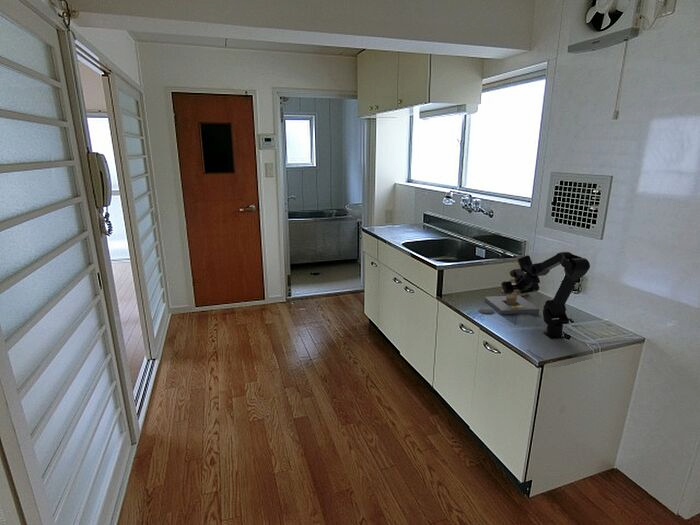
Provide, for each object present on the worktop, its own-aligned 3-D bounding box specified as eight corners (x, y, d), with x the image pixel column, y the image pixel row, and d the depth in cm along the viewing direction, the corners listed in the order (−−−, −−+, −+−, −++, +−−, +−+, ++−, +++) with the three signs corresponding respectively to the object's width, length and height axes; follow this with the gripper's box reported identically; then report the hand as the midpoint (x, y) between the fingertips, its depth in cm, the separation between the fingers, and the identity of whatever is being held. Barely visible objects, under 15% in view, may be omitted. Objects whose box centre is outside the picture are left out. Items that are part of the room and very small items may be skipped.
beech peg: (515, 310, 207) (518, 286, 204) (505, 308, 209) (507, 285, 205) (515, 306, 211) (518, 283, 208) (505, 305, 213) (508, 282, 210)
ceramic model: (504, 296, 228) (506, 279, 225) (499, 290, 239) (500, 274, 236) (529, 296, 226) (531, 280, 224) (523, 290, 237) (524, 274, 235)
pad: (497, 316, 200) (497, 314, 199) (482, 316, 199) (482, 315, 199) (490, 310, 207) (490, 308, 207) (475, 310, 207) (475, 309, 206)
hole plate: (538, 314, 202) (539, 308, 201) (501, 316, 200) (501, 310, 199) (518, 300, 221) (519, 295, 220) (484, 302, 219) (484, 296, 218)
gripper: (538, 264, 200) (523, 278, 213) (505, 266, 196) (491, 281, 210) (547, 283, 194) (530, 297, 208) (512, 286, 191) (498, 300, 204)
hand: (512, 293), depth 207 cm, fingers open, 9 cm apart
